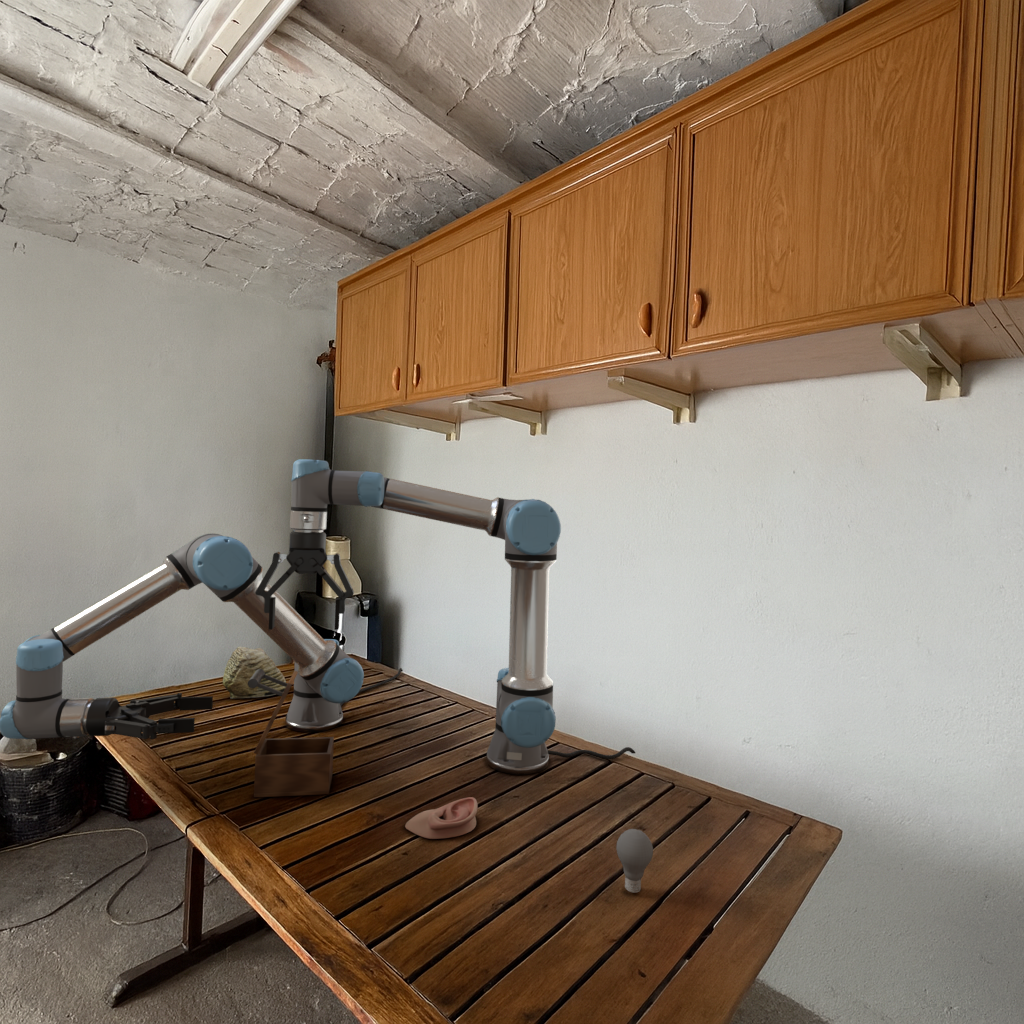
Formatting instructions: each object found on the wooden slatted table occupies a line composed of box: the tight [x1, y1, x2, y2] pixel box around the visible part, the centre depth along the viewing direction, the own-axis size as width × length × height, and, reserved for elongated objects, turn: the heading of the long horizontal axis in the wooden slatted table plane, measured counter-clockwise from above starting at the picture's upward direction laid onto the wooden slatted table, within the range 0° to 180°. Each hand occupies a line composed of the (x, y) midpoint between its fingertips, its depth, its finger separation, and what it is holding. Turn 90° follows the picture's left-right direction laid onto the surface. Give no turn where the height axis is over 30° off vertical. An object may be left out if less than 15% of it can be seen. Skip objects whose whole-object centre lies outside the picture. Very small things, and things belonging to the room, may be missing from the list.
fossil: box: [222, 646, 287, 699], centre depth 198 cm, size 9×18×15 cm, turn 132°
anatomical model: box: [404, 796, 479, 840], centre depth 124 cm, size 13×4×12 cm
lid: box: [248, 669, 298, 755], centre depth 136 cm, size 16×10×8 cm
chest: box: [253, 736, 335, 798], centre depth 138 cm, size 15×10×9 cm, turn 101°
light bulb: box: [615, 828, 654, 894], centre depth 106 cm, size 6×6×10 cm
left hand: (203, 713), depth 134 cm, fingers open, 13 cm apart
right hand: (304, 628), depth 138 cm, fingers open, 13 cm apart
